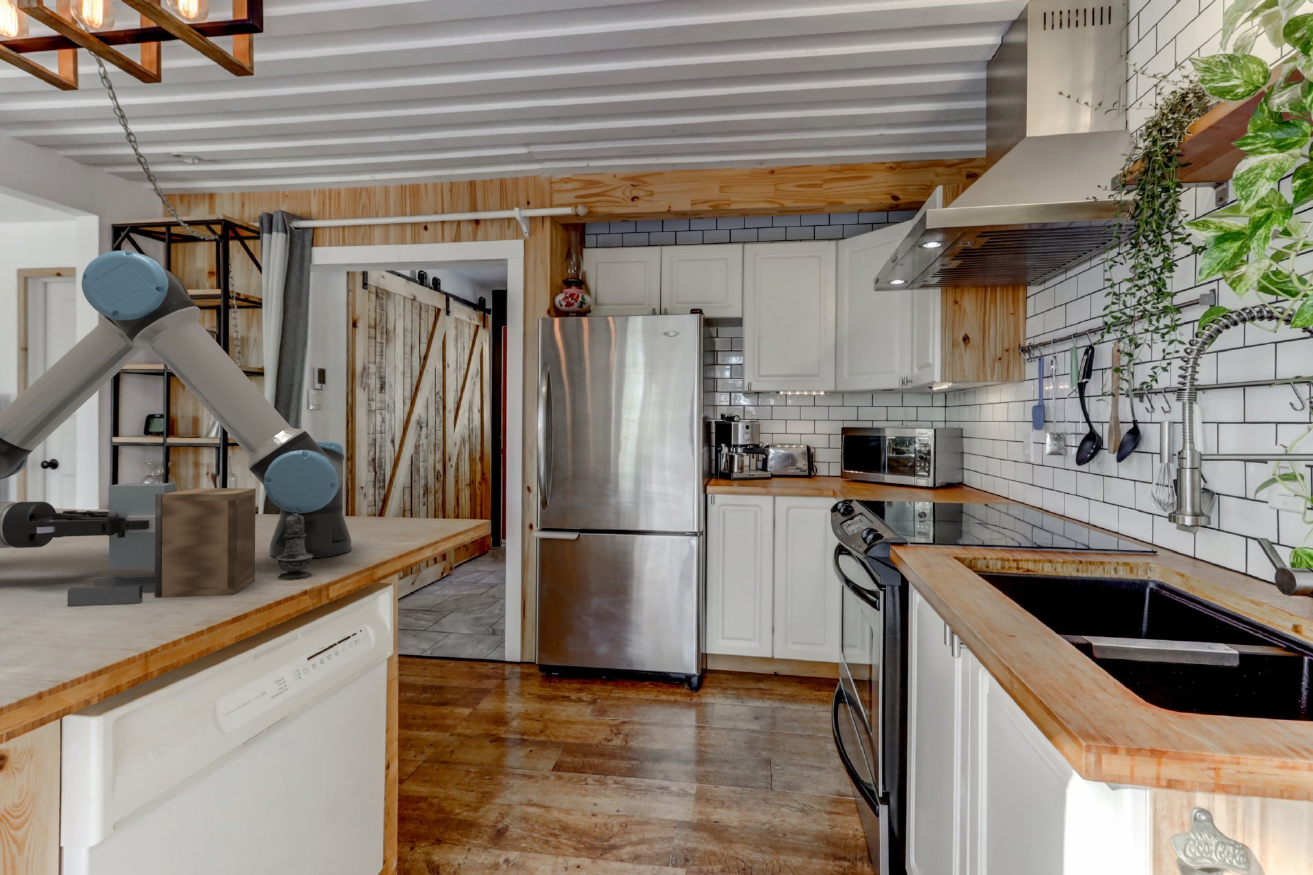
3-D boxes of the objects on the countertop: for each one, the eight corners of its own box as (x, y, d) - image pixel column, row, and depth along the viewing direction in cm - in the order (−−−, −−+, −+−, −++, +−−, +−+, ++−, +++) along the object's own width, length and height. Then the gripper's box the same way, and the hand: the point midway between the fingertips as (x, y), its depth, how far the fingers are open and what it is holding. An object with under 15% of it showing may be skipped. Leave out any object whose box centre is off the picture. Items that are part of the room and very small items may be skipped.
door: (105, 571, 107) (105, 486, 106) (122, 564, 112) (122, 483, 111) (161, 569, 109) (161, 486, 108) (176, 562, 113) (175, 483, 113)
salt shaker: (307, 571, 119) (308, 506, 119) (317, 576, 115) (318, 509, 115) (271, 575, 115) (272, 508, 115) (280, 582, 111) (281, 512, 111)
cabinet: (153, 597, 100) (154, 494, 100) (180, 583, 109) (181, 488, 109) (234, 594, 103) (235, 494, 102) (254, 580, 112) (255, 488, 111)
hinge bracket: (67, 605, 95) (67, 588, 95) (97, 592, 102) (98, 576, 102) (138, 603, 97) (139, 586, 97) (163, 590, 104) (163, 574, 104)
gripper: (50, 538, 114) (201, 534, 120) (-25, 558, 98) (154, 552, 103) (50, 495, 114) (201, 494, 120) (-26, 509, 98) (154, 506, 103)
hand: (179, 521), depth 112 cm, fingers closed on door, 4 cm apart
